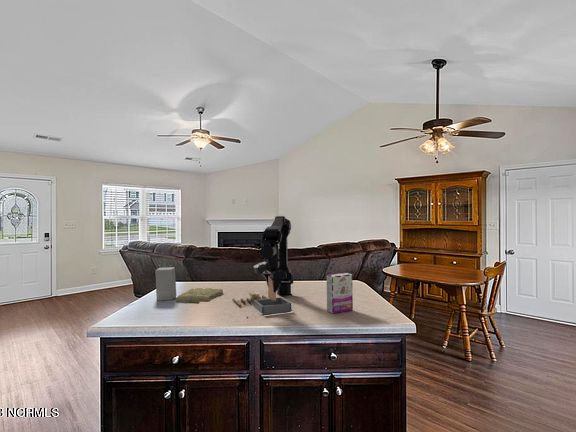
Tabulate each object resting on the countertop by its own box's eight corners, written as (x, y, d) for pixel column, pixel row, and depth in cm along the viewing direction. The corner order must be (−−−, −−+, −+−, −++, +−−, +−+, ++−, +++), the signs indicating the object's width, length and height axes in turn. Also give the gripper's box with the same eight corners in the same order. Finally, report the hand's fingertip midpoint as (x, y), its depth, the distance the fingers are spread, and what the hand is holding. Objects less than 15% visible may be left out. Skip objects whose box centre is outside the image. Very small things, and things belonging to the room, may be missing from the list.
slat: (271, 297, 149) (271, 275, 149) (276, 300, 143) (276, 277, 143) (268, 297, 148) (268, 275, 148) (273, 300, 143) (273, 278, 143)
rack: (263, 299, 164) (263, 294, 164) (272, 305, 154) (272, 299, 154) (232, 302, 158) (232, 297, 158) (239, 309, 147) (239, 303, 147)
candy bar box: (346, 308, 149) (346, 272, 149) (353, 310, 145) (353, 274, 145) (325, 311, 144) (326, 274, 144) (332, 314, 140) (332, 276, 140)
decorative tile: (175, 302, 159) (175, 295, 159) (191, 293, 179) (191, 286, 179) (211, 304, 157) (211, 296, 157) (224, 294, 177) (224, 287, 177)
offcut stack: (257, 300, 160) (257, 291, 160) (260, 302, 155) (260, 294, 155) (249, 301, 158) (249, 292, 158) (252, 303, 153) (252, 294, 153)
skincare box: (176, 297, 168) (176, 266, 168) (172, 300, 161) (172, 269, 161) (160, 297, 168) (160, 266, 168) (154, 300, 161) (155, 269, 161)
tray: (280, 305, 154) (280, 297, 154) (291, 311, 143) (291, 303, 143) (253, 308, 148) (253, 300, 148) (262, 315, 137) (262, 306, 137)
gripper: (248, 254, 151) (248, 288, 151) (262, 259, 134) (262, 297, 134) (271, 253, 155) (270, 286, 155) (287, 258, 138) (287, 294, 138)
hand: (272, 290), depth 146 cm, fingers closed on slat, 6 cm apart
